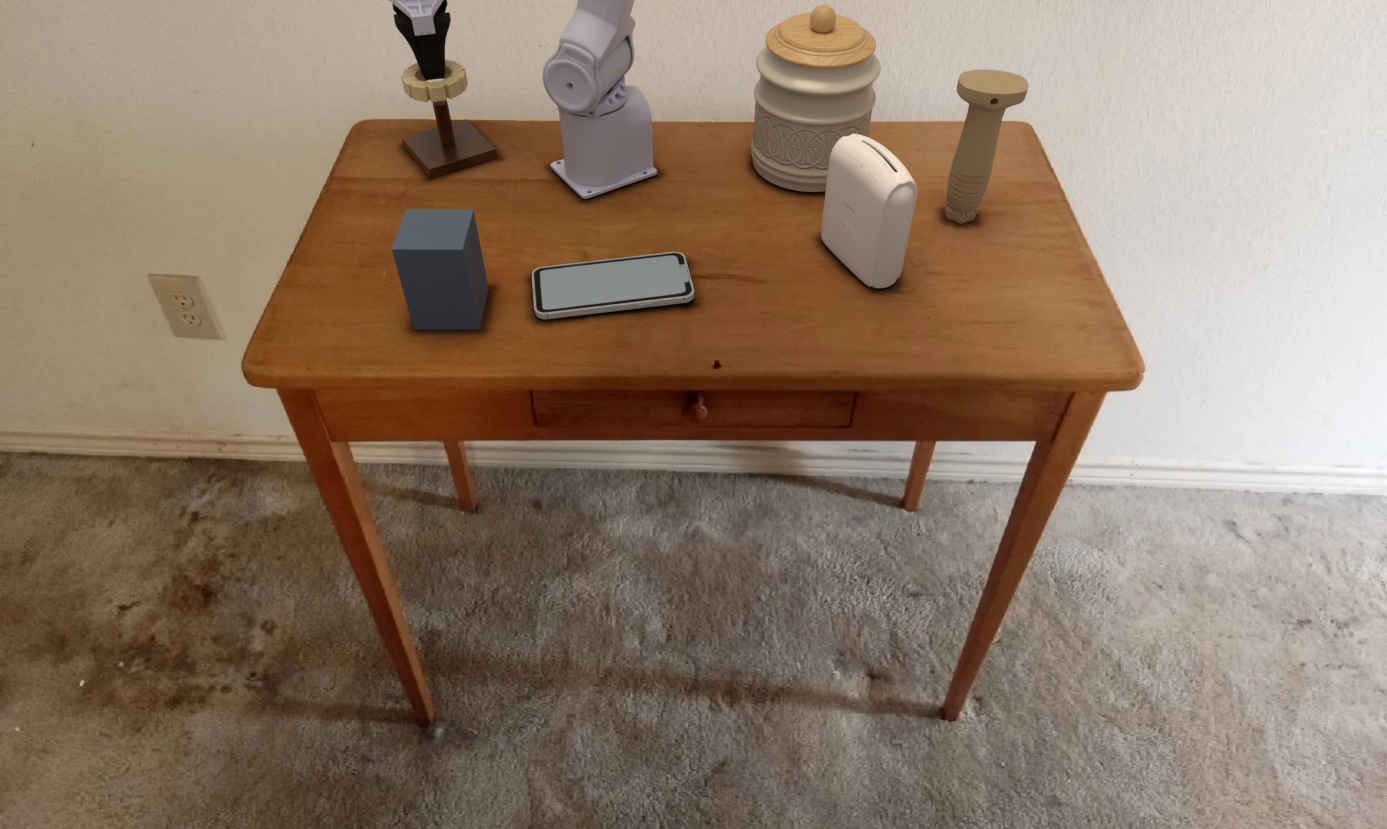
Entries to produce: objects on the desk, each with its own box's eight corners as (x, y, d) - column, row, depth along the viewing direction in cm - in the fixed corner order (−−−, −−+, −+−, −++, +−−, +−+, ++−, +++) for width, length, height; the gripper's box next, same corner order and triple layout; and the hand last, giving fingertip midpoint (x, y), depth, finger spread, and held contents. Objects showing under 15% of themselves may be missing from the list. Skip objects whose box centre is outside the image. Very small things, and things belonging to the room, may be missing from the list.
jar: (740, 186, 101) (748, 26, 88) (760, 128, 110) (770, -25, 97) (858, 202, 99) (884, 40, 86) (869, 141, 108) (894, -13, 95)
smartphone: (531, 267, 89) (683, 250, 91) (532, 275, 90) (683, 258, 91) (534, 315, 84) (695, 296, 86) (536, 323, 85) (696, 304, 86)
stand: (468, 128, 109) (459, 78, 105) (497, 158, 104) (488, 107, 100) (403, 147, 106) (391, 96, 101) (430, 178, 101) (419, 127, 97)
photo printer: (813, 238, 94) (826, 127, 85) (848, 227, 96) (865, 117, 87) (868, 295, 88) (889, 182, 79) (905, 283, 89) (930, 171, 80)
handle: (992, 231, 95) (1031, 95, 84) (929, 227, 96) (961, 91, 85) (987, 205, 99) (1025, 71, 88) (927, 201, 99) (956, 67, 88)
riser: (489, 288, 88) (473, 208, 82) (479, 330, 84) (462, 249, 77) (426, 288, 88) (405, 208, 82) (413, 330, 84) (391, 249, 77)
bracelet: (451, 67, 103) (449, 53, 102) (477, 91, 99) (475, 77, 98) (395, 82, 100) (392, 68, 99) (419, 108, 96) (416, 93, 95)
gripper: (363, -81, 95) (392, 47, 105) (367, -28, 85) (400, 108, 95) (432, -87, 96) (455, 41, 106) (444, -35, 87) (469, 100, 96)
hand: (433, 72), depth 101 cm, fingers closed on bracelet, 2 cm apart
